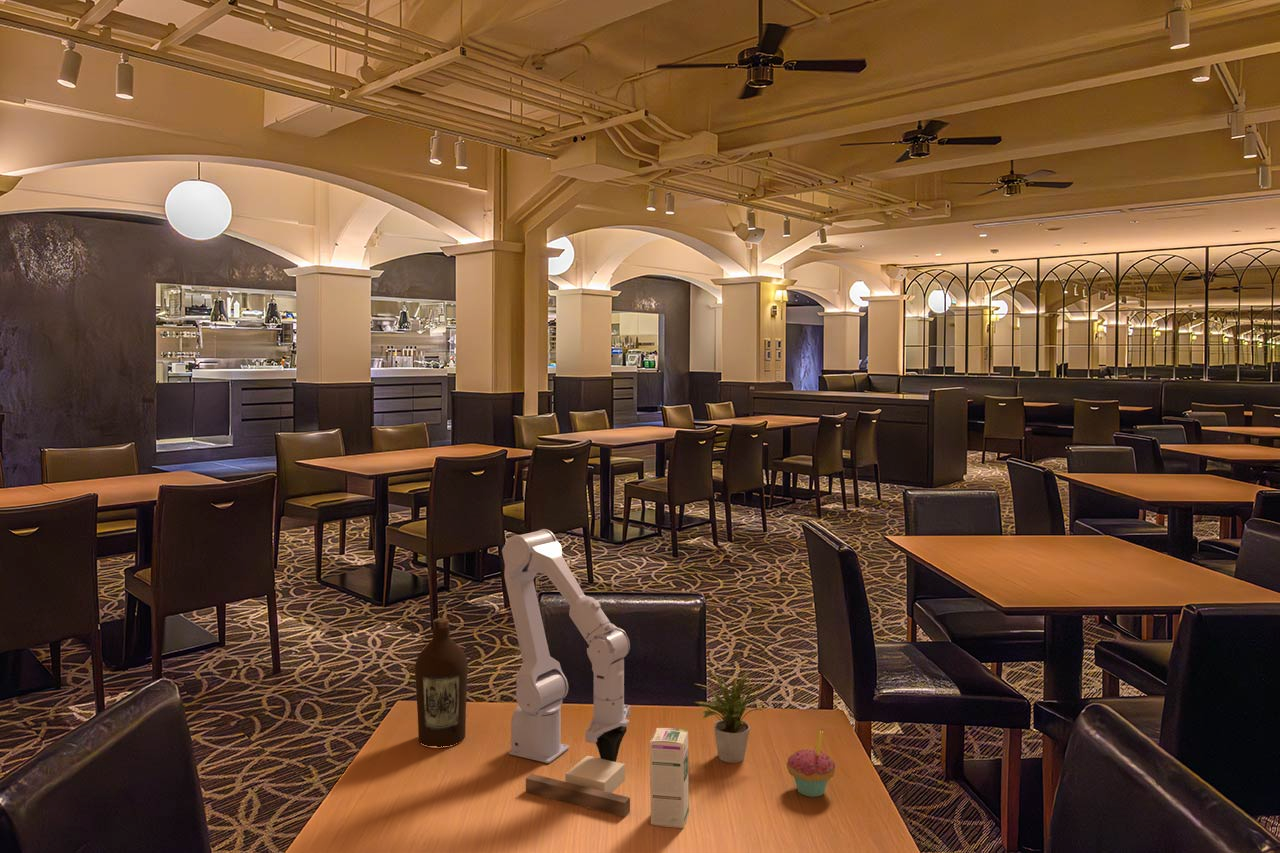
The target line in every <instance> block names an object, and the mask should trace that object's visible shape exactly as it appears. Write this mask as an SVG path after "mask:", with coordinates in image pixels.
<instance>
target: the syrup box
mask: <svg viewBox="0 0 1280 853" xmlns="http://www.w3.org/2000/svg"><path fill="white" fill-rule="evenodd" d="M689 764H690V763H689V731H688V730H686V729H683V728H675V727H673V728H672V727H656V728H655V731H654V733H653V735H652V736H651V739H650V741H649V768H650V769H649V776H650V777H649V780H650V783H649V785H650V786H649V787H650V794H649V795H650V824H651V825H652V826H658V827H665V828H675V829H684V828H685V824H686V821H687V819H688V815H689V812H690V790H689V789H690V788H689V787H690V782H689V781H690V778H689V777H690V776H689V774H690V771H689V768H690V767H689Z"/></svg>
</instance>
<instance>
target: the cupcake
mask: <svg viewBox="0 0 1280 853" xmlns="http://www.w3.org/2000/svg"><path fill="white" fill-rule="evenodd" d="M823 730H824V727H822V728H821V730H819V732H818V739H817V743H816V747H815V748H816V749H814V748H813V749H801V750H797V751H796V752H793V753H792V754H790V756H789V757H788V758H787V761H786V769H787V770H788V773H789V775H790V776H792V777H793V778H794V782H795V786H796V788H797V789H796V790H797V792H799V793H800V794H801V795H803V796H806V797H811V798H816V797H820V796H822V795H824V793H825V791H826V787H827V785H828V782H829V780H831V779H832V778H833V777H834V776H835V772H836V771H835V770H836V763H835V762H834V761H833V759H832V758H831V757H830V756H828V755H827V754H826V753H824V752H823V751H821V745H822V741H823V736H824V731H823Z"/></svg>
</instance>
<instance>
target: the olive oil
mask: <svg viewBox="0 0 1280 853" xmlns="http://www.w3.org/2000/svg"><path fill="white" fill-rule="evenodd" d="M432 624H433V626H432V639H431V640H430V641H429V642H428V643H427V645H426V646H425V647H424V648H422V650H421V651H420V652H419V654H418V655H417V658H416V660H415V665H414V677H415V678H414V679H415V693H416V695H415V696H416V707H417V708H416V710H417V730H418V734H417V735H418V742H420V743H422V744H424V745H427V746H437V747H441V746H442V747H443V746H450V745H454V744H456V743H459V742H461V741H462V740H463V739H464V738H465V739H466V727H467V726H466V723H467V721H466V719H467V718H466V717H467V716H466V715H467V713H466V712H467V693H468V692H467V691H468V673H469V672H468V670H469V667H468V666H469V664H468V658H467V656H466V653H465V652H464V650H463V649H462V648H461V647H460V646H459V645H458V644H457V643H456V642H455V641H454V640H453V639H452V638H451V637H450V620H449V619H448V618H446V617H440V618H435V619H434V620H433V621H432ZM465 739H464V740H465ZM464 740H463V741H464ZM463 741H462V742H463ZM462 742H461V743H462ZM420 743H419V744H420ZM459 744H460V743H459Z"/></svg>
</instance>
